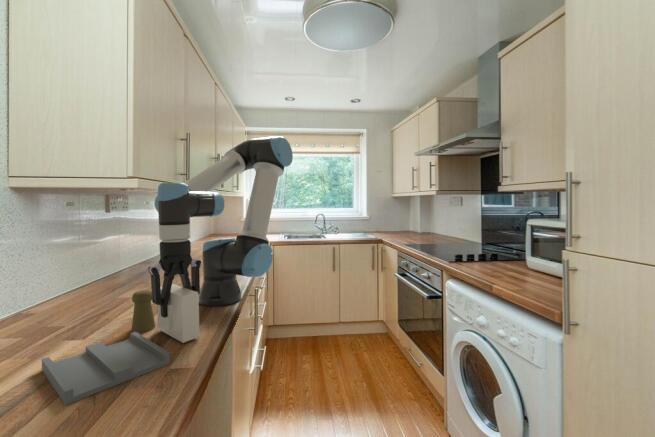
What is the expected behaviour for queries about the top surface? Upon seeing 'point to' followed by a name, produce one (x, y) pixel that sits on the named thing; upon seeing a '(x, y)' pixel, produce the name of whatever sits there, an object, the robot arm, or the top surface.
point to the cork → (142, 312)
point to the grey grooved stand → (103, 367)
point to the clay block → (182, 314)
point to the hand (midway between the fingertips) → (178, 324)
